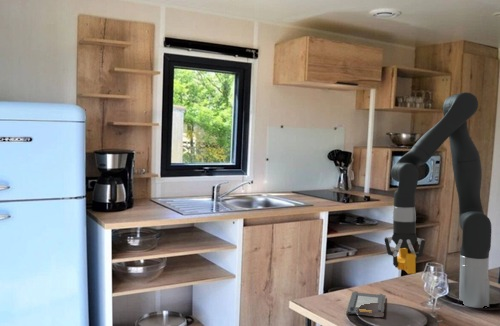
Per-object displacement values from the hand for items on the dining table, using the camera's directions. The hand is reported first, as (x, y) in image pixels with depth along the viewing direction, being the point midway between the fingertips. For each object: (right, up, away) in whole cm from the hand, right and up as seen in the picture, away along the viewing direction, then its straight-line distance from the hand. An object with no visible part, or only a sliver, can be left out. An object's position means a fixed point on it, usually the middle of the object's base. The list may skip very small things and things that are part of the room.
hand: (404, 267), depth 165 cm
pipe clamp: (0, -1, 0) cm, 1 cm away
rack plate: (-13, -13, -1) cm, 19 cm away
